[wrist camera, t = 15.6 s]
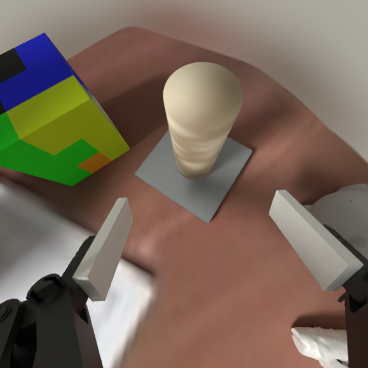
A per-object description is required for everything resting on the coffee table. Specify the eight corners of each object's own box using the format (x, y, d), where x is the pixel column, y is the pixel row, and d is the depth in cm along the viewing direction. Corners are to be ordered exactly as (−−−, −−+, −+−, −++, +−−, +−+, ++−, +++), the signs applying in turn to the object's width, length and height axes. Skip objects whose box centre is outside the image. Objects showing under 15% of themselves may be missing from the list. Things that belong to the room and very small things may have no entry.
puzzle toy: (100, 104, 25) (44, 32, 15) (130, 149, 23) (89, 99, 13) (45, 136, 24) (-52, 81, 14) (72, 186, 22) (-19, 161, 12)
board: (137, 176, 22) (134, 174, 21) (182, 116, 24) (182, 111, 23) (206, 223, 20) (208, 223, 19) (249, 154, 22) (252, 150, 21)
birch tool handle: (169, 167, 21) (147, 104, 9) (189, 140, 22) (191, 50, 10) (200, 187, 20) (217, 144, 9) (218, 157, 21) (257, 83, 9)
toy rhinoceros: (343, 220, 23) (445, 204, 15) (314, 278, 17) (454, 297, 10) (309, 181, 24) (388, 150, 17) (272, 224, 18) (366, 204, 11)
